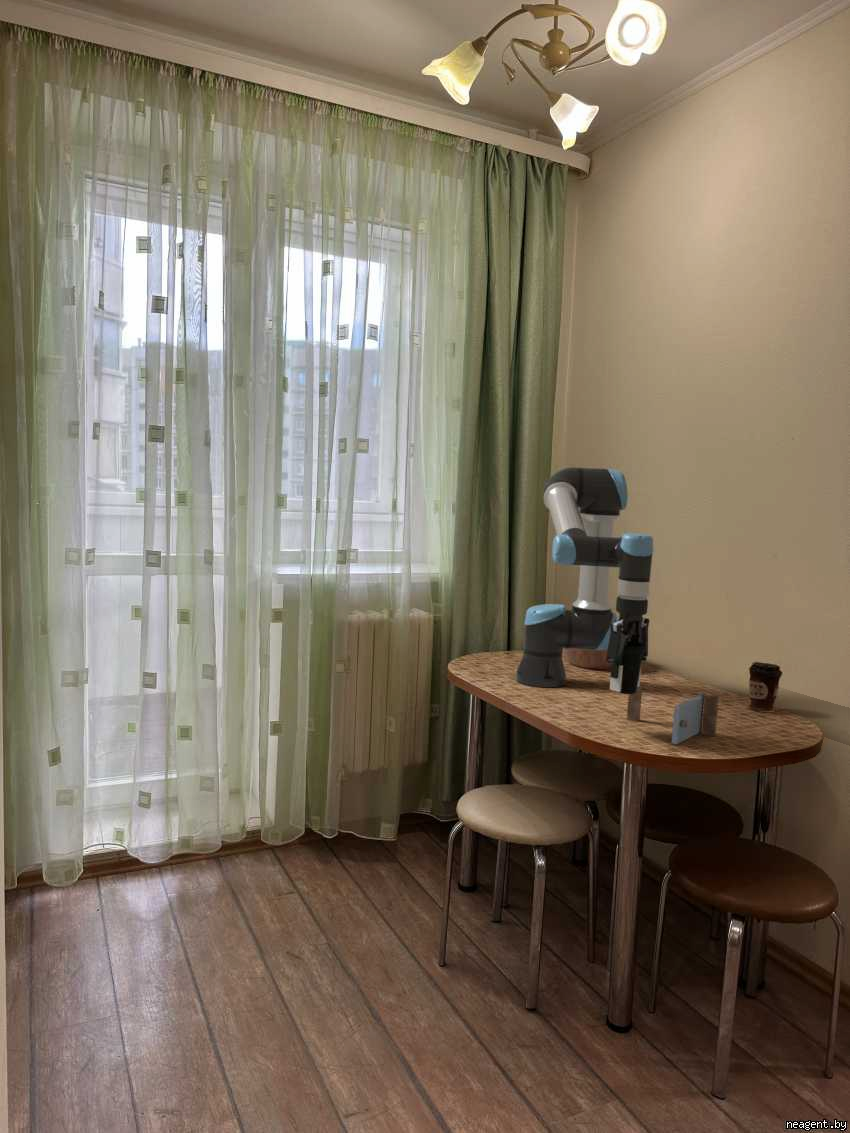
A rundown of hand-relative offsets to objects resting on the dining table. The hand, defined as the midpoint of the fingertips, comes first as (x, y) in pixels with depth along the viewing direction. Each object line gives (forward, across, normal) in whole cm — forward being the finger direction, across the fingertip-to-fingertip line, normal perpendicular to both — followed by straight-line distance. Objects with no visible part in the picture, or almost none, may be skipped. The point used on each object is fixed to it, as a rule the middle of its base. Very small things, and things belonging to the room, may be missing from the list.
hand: (624, 687), depth 212 cm
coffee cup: (+11, -50, +13) cm, 53 cm away
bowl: (+13, -58, -48) cm, 76 cm away
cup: (+1, 0, 0) cm, 1 cm away
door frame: (+11, -12, +6) cm, 18 cm away
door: (+10, -7, +15) cm, 19 cm away
